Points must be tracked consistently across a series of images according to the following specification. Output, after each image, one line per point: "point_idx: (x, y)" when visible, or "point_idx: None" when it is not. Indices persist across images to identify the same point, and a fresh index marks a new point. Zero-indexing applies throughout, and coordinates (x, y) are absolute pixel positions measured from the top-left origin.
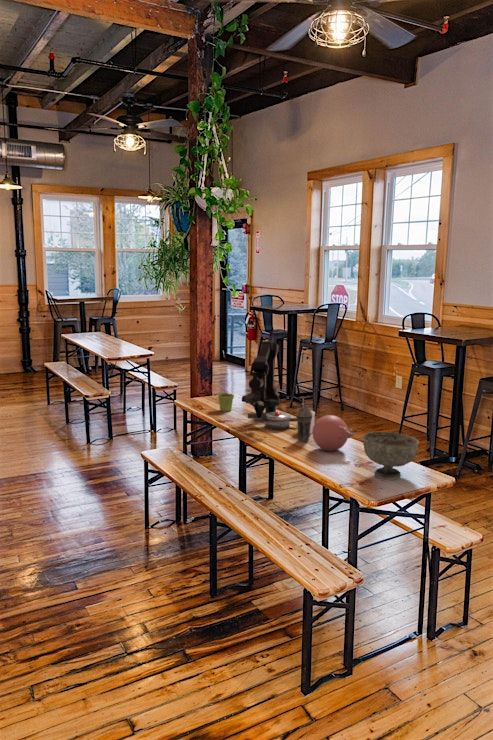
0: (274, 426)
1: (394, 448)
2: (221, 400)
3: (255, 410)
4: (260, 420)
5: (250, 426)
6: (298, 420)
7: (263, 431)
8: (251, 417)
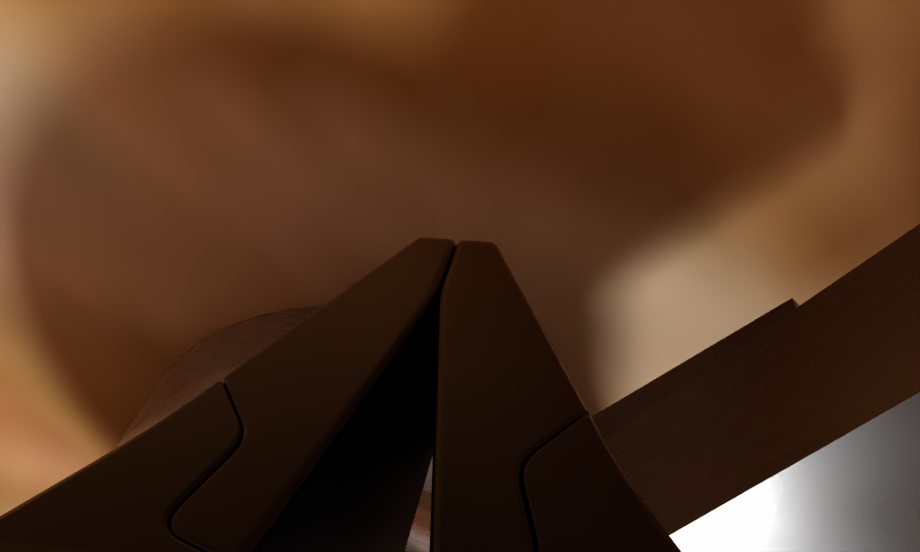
0: (215, 370)
1: None
2: None
3: (580, 458)
4: (634, 411)
5: (908, 192)
6: None
7: (292, 40)
8: (900, 265)
